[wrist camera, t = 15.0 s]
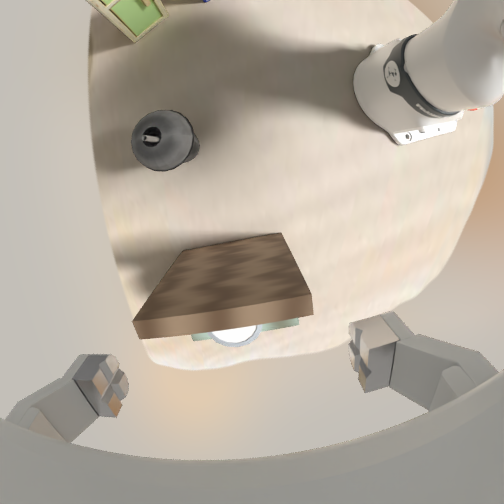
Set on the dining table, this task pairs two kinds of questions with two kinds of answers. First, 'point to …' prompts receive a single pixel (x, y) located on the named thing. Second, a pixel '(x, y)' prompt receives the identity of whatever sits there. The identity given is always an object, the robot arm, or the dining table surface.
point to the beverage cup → (164, 140)
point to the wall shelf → (227, 291)
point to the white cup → (236, 335)
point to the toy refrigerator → (132, 15)
